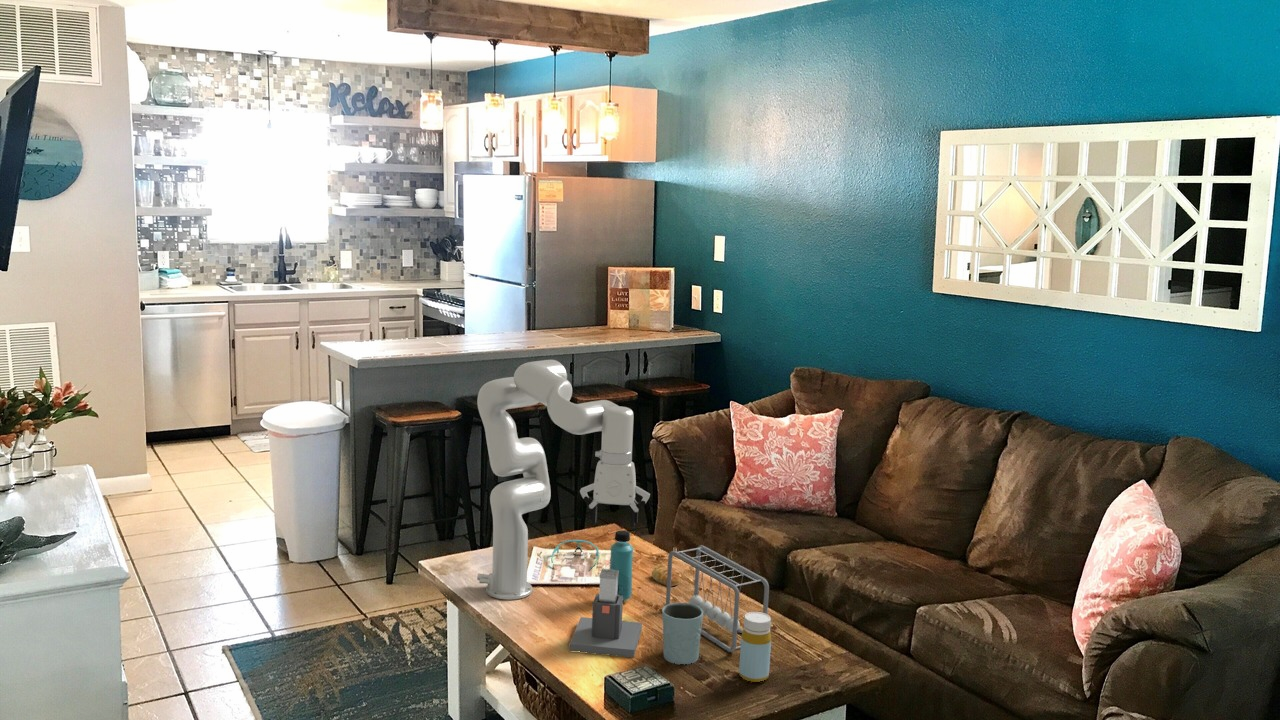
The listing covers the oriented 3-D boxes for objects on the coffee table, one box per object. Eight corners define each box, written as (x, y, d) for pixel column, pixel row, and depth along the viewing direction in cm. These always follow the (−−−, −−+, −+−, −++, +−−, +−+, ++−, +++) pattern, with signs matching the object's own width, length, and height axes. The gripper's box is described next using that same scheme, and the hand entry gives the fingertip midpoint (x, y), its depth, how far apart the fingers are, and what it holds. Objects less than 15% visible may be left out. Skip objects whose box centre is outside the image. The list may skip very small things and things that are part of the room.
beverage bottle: (632, 597, 292) (635, 528, 288) (630, 607, 285) (633, 536, 282) (609, 595, 292) (612, 526, 289) (606, 605, 286) (609, 534, 282)
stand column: (597, 632, 262) (599, 575, 259) (599, 624, 266) (602, 568, 263) (614, 633, 262) (616, 576, 259) (616, 626, 266) (618, 570, 263)
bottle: (736, 669, 252) (740, 610, 249) (765, 669, 252) (769, 611, 250) (741, 683, 245) (745, 623, 242) (771, 683, 246) (775, 623, 243)
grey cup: (687, 670, 251) (690, 622, 249) (651, 658, 256) (654, 611, 254) (708, 654, 259) (710, 608, 257) (672, 643, 264) (675, 598, 262)
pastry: (685, 585, 303) (686, 572, 302) (666, 589, 299) (667, 576, 299) (667, 574, 311) (668, 562, 310) (648, 578, 307) (649, 565, 306)
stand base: (569, 651, 257) (570, 609, 255) (580, 624, 273) (581, 584, 271) (634, 657, 256) (636, 615, 254) (641, 629, 271) (643, 589, 269)
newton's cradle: (664, 611, 284) (667, 548, 281) (695, 604, 290) (699, 542, 286) (733, 656, 259) (737, 587, 256) (765, 647, 265) (770, 580, 262)
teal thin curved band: (601, 556, 323) (601, 541, 321) (594, 578, 309) (595, 563, 307) (556, 552, 324) (556, 537, 323) (547, 575, 310) (547, 559, 308)
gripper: (578, 458, 254) (576, 526, 257) (650, 463, 252) (646, 532, 255) (583, 450, 261) (581, 516, 264) (653, 455, 260) (649, 522, 263)
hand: (613, 524), depth 260 cm, fingers open, 9 cm apart
